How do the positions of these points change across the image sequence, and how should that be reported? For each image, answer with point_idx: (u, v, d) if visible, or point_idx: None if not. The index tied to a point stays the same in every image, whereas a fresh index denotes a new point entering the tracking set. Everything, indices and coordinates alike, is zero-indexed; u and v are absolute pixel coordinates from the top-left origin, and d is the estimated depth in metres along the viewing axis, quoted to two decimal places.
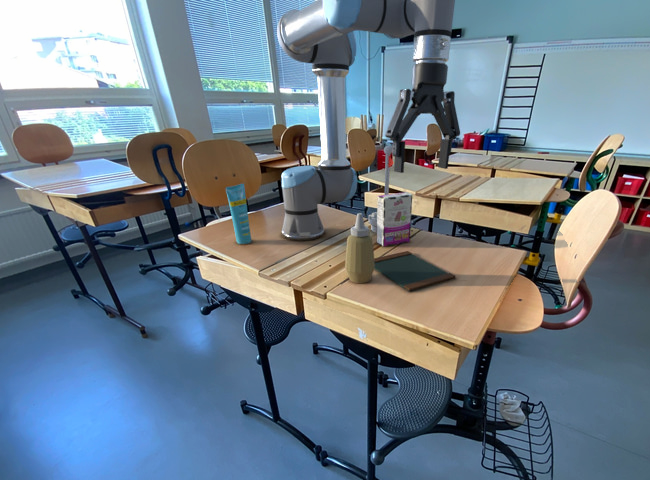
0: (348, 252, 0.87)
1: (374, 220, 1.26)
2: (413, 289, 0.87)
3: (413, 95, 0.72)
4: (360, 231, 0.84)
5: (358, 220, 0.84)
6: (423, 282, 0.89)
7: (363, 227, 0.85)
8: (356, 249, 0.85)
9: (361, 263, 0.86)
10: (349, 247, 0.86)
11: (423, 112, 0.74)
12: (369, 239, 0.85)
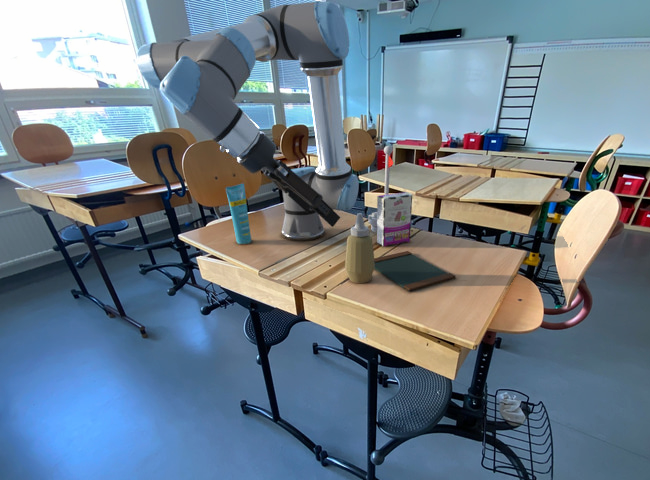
0: (348, 252, 0.87)
1: (374, 220, 1.26)
2: (413, 289, 0.87)
3: None
4: (360, 231, 0.84)
5: (358, 220, 0.84)
6: (423, 282, 0.89)
7: (363, 227, 0.85)
8: (356, 249, 0.85)
9: (361, 263, 0.86)
10: (349, 247, 0.86)
11: None
12: (369, 239, 0.85)
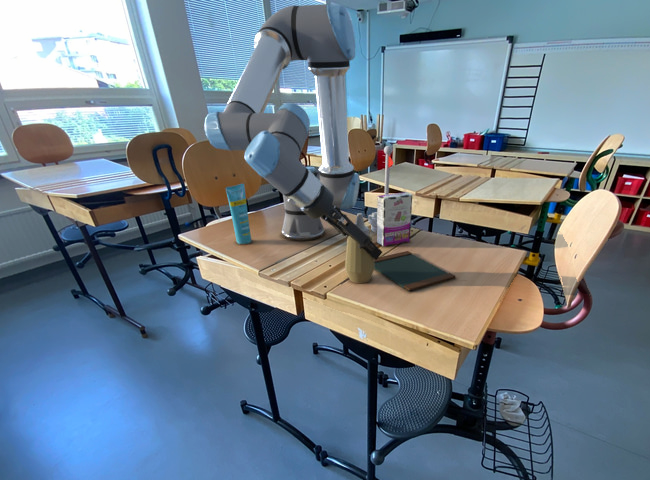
0: (348, 252, 0.87)
1: (374, 220, 1.26)
2: (413, 289, 0.87)
3: None
4: None
5: (358, 220, 0.84)
6: (423, 282, 0.89)
7: (363, 227, 0.85)
8: (356, 249, 0.85)
9: (361, 263, 0.86)
10: (349, 247, 0.86)
11: None
12: None
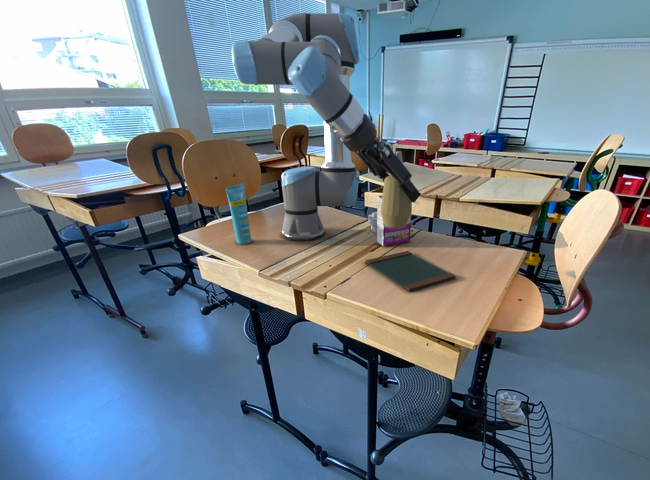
0: (385, 194, 0.84)
1: (374, 220, 1.26)
2: (413, 289, 0.87)
3: None
4: None
5: None
6: (423, 282, 0.89)
7: None
8: (394, 190, 0.82)
9: (399, 205, 0.83)
10: (387, 188, 0.83)
11: None
12: None
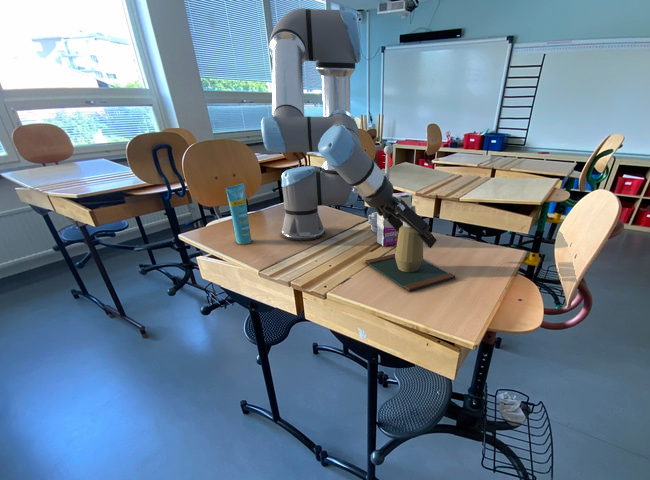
0: (400, 242, 0.92)
1: (374, 220, 1.26)
2: (413, 289, 0.87)
3: None
4: None
5: None
6: (423, 282, 0.89)
7: None
8: (409, 240, 0.90)
9: (413, 253, 0.91)
10: (401, 238, 0.91)
11: None
12: None
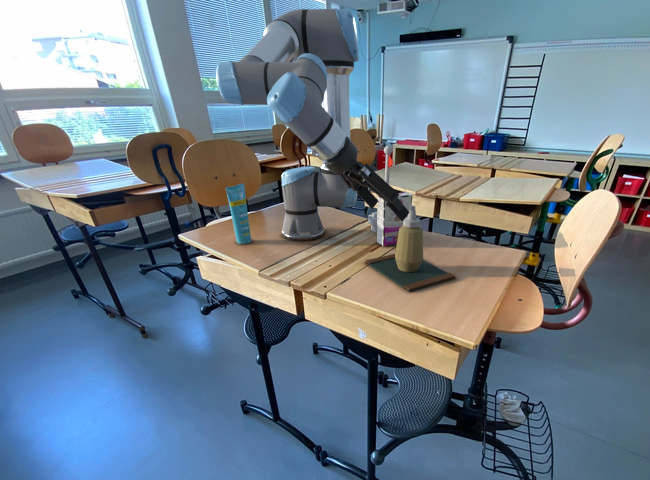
0: (400, 242, 0.92)
1: (374, 220, 1.26)
2: (413, 289, 0.87)
3: None
4: (413, 222, 0.89)
5: (411, 212, 0.89)
6: (423, 282, 0.89)
7: (415, 219, 0.90)
8: (409, 240, 0.90)
9: (413, 253, 0.91)
10: (401, 238, 0.91)
11: None
12: (420, 230, 0.90)
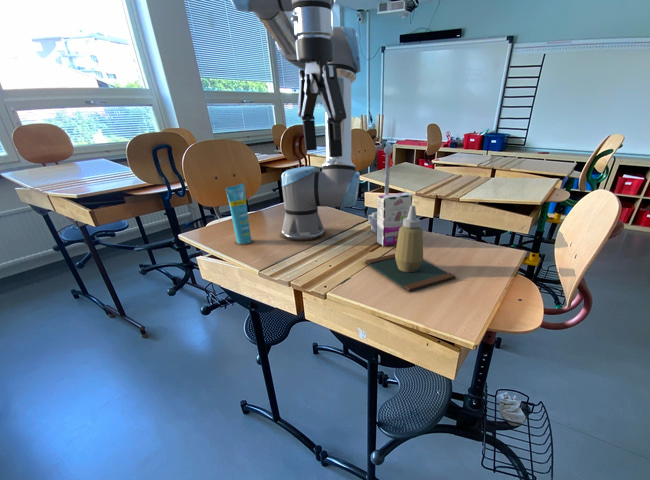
0: (400, 242, 0.92)
1: (374, 220, 1.26)
2: (413, 289, 0.87)
3: None
4: (413, 222, 0.89)
5: (411, 212, 0.89)
6: (423, 282, 0.89)
7: (415, 219, 0.90)
8: (409, 240, 0.90)
9: (413, 253, 0.91)
10: (401, 238, 0.91)
11: (311, 92, 0.73)
12: (420, 230, 0.90)
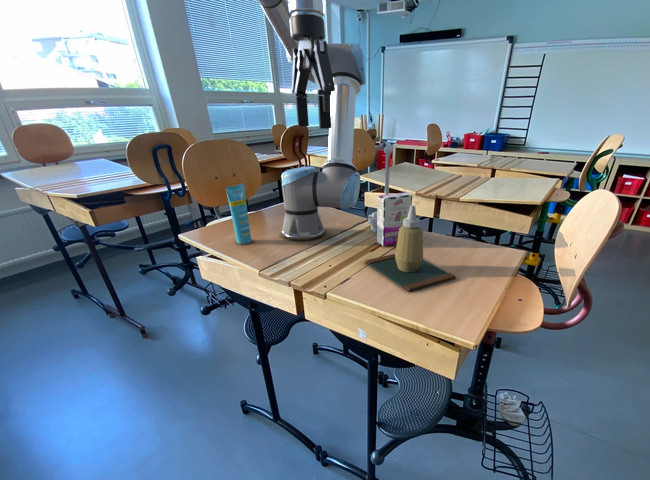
0: (400, 242, 0.92)
1: (374, 220, 1.26)
2: (413, 289, 0.87)
3: None
4: (413, 222, 0.89)
5: (411, 212, 0.89)
6: (423, 282, 0.89)
7: (415, 219, 0.90)
8: (409, 240, 0.90)
9: (413, 253, 0.91)
10: (401, 238, 0.91)
11: (303, 68, 0.78)
12: (420, 230, 0.90)
